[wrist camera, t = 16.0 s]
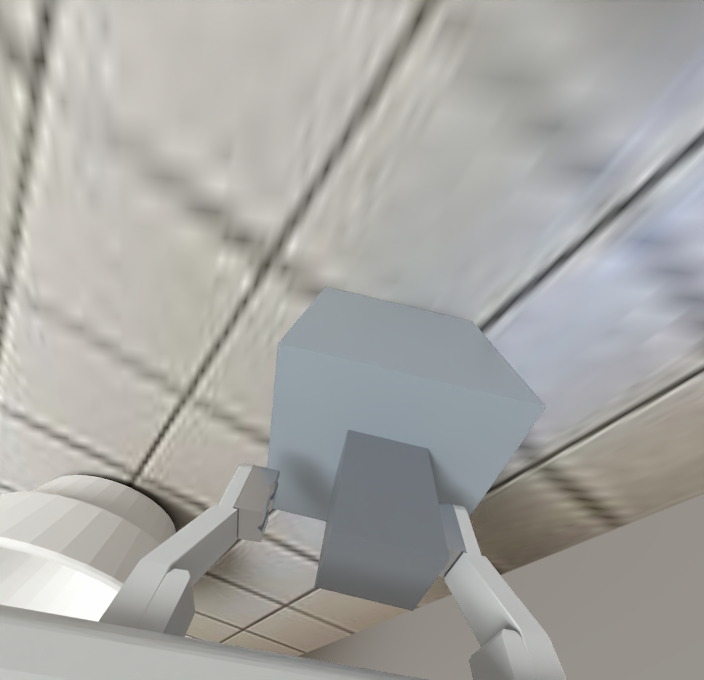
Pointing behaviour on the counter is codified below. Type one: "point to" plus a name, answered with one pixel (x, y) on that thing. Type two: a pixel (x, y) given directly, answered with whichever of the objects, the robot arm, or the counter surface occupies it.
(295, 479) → the grey block with knob
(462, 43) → the counter surface
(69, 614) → the bowl
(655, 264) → the counter surface
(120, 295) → the counter surface
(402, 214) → the counter surface
